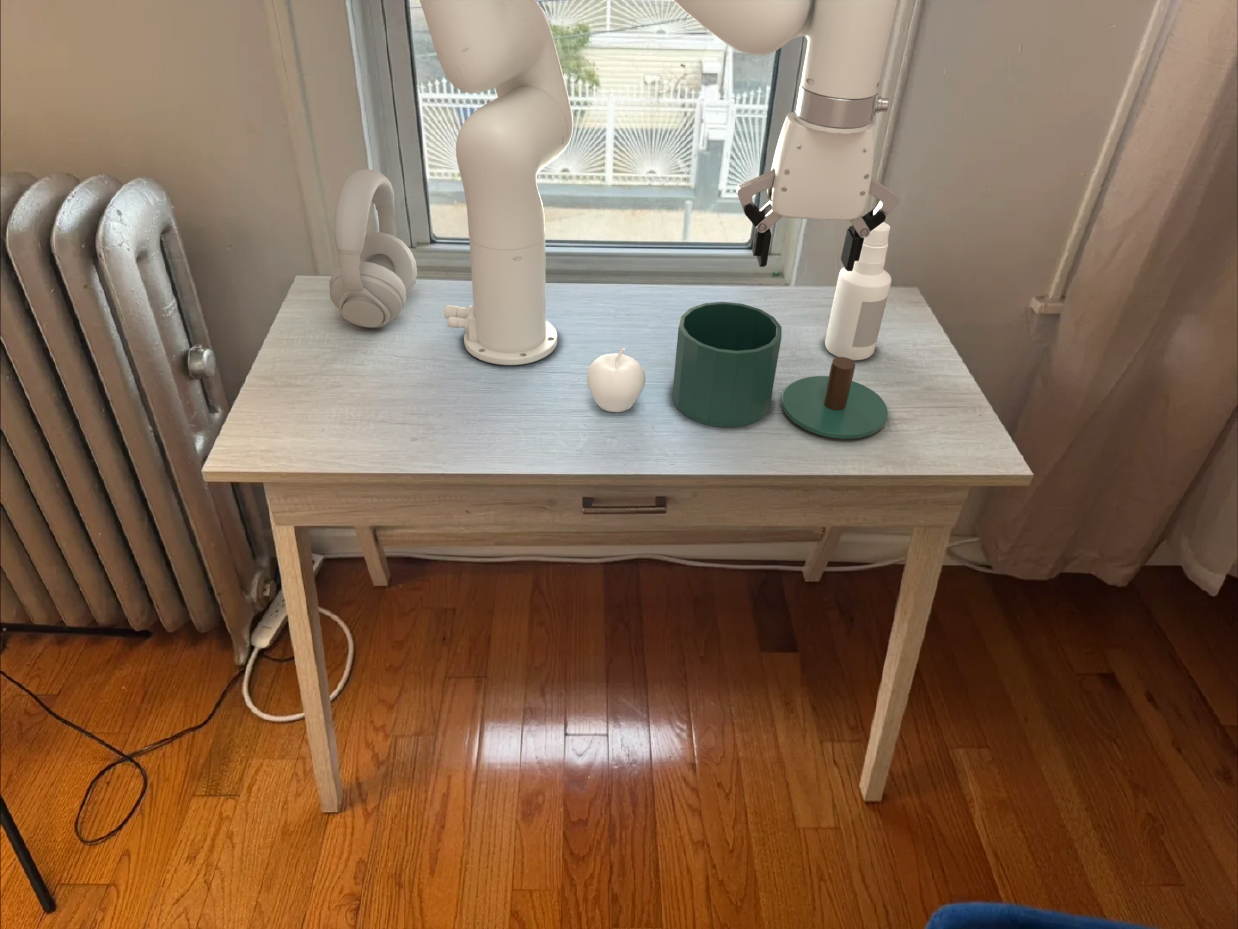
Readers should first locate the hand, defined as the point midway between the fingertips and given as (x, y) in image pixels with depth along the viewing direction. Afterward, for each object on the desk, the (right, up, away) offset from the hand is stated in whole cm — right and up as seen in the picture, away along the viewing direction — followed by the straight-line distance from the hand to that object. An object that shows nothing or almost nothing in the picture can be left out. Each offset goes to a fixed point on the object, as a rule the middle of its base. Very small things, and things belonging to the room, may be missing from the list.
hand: (803, 263), depth 103 cm
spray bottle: (+11, -6, +25) cm, 28 cm away
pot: (-8, -14, +13) cm, 21 cm away
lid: (+6, -15, +12) cm, 20 cm away
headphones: (-55, -1, +27) cm, 61 cm away
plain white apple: (-21, -15, +12) cm, 29 cm away
